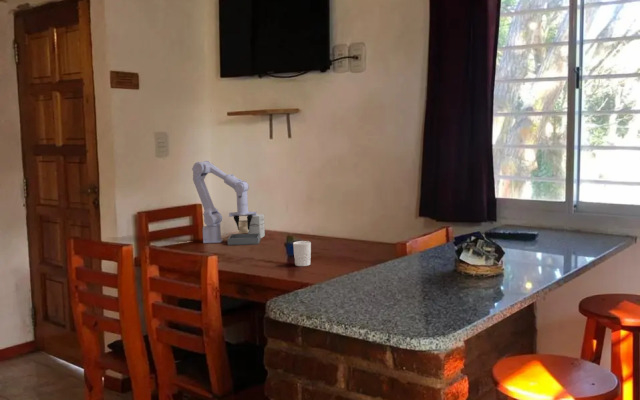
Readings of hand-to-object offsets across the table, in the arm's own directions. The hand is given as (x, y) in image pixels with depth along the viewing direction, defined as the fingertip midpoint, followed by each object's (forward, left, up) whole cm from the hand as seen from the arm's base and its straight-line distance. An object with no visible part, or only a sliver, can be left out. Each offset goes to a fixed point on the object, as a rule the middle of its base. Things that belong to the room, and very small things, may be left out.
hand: (243, 229), depth 348 cm
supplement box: (+5, +16, -7) cm, 18 cm away
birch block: (0, 0, -2) cm, 2 cm away
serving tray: (0, +1, -7) cm, 7 cm away
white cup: (+33, -58, -7) cm, 67 cm away
